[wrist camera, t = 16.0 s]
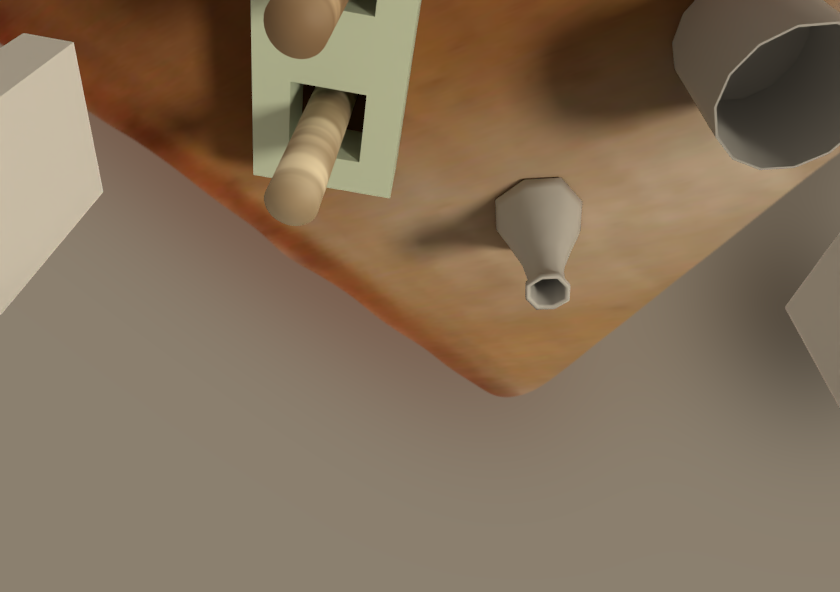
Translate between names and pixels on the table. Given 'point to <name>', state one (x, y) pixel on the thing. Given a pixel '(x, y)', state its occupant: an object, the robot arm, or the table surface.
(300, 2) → the oak peg
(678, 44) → the cup
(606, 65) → the table surface
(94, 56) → the table surface
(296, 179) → the beech peg
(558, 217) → the flask
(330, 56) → the socket board
